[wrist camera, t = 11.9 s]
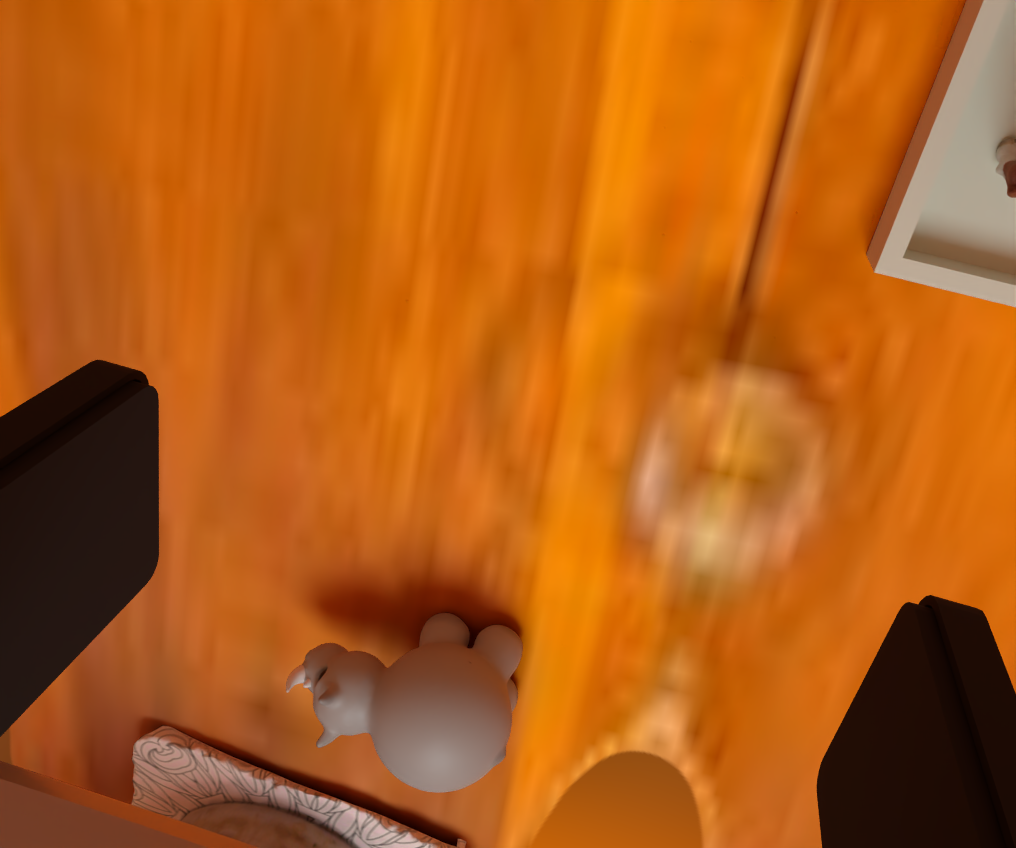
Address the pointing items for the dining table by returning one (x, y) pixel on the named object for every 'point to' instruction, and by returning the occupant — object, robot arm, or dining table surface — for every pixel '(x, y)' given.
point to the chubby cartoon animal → (422, 701)
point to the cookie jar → (254, 800)
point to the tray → (959, 169)
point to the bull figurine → (1007, 164)
